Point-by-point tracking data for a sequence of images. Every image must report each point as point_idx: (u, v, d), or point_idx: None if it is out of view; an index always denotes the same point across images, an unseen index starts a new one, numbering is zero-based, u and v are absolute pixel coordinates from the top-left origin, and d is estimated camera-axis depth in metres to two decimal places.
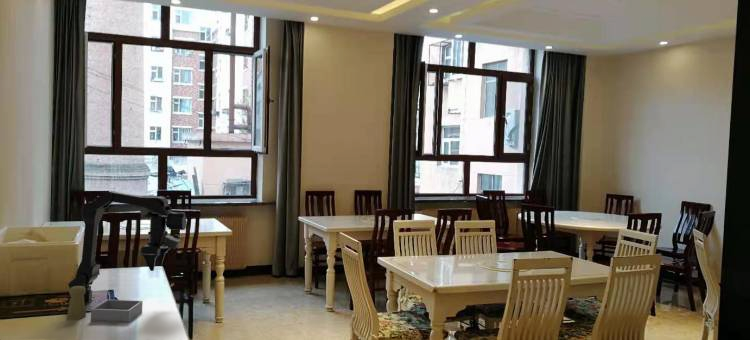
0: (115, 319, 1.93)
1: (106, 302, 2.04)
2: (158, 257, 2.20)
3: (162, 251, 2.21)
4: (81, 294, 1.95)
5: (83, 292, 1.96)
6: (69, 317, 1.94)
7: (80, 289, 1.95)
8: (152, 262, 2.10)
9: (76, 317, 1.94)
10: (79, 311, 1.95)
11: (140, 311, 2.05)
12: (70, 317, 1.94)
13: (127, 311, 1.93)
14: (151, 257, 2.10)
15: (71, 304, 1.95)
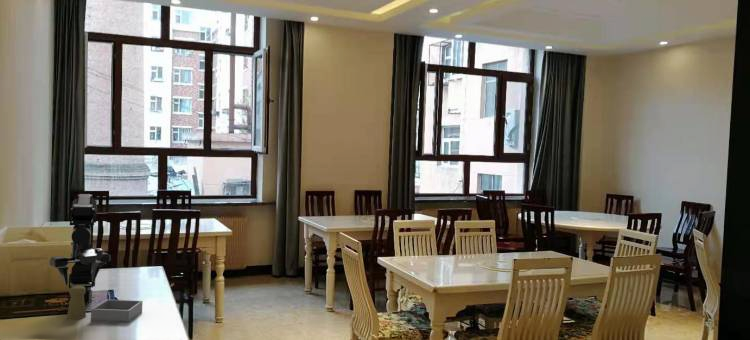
0: (115, 319, 1.93)
1: (106, 302, 2.04)
2: (92, 271, 2.01)
3: (95, 265, 2.00)
4: (81, 294, 1.95)
5: (83, 292, 1.96)
6: (69, 317, 1.94)
7: (80, 289, 1.95)
8: (63, 275, 1.92)
9: (76, 317, 1.94)
10: (79, 311, 1.95)
11: (140, 311, 2.05)
12: (70, 317, 1.94)
13: (127, 311, 1.93)
14: None
15: (71, 304, 1.95)
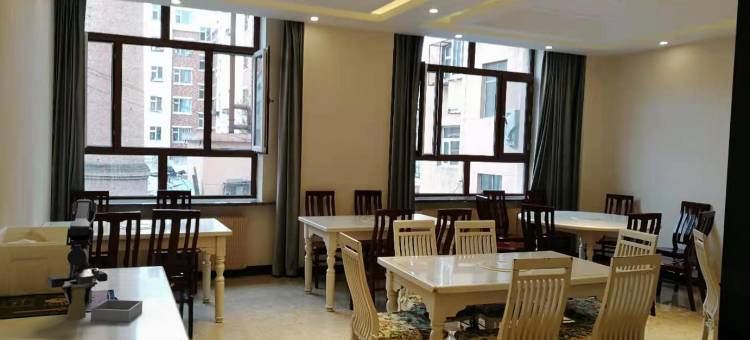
0: (115, 319, 1.93)
1: (106, 302, 2.04)
2: None
3: (86, 286, 1.98)
4: (81, 294, 1.95)
5: (83, 292, 1.96)
6: (69, 317, 1.94)
7: (80, 289, 1.95)
8: (66, 295, 1.94)
9: (76, 317, 1.94)
10: (79, 311, 1.95)
11: (140, 311, 2.05)
12: (70, 317, 1.94)
13: (127, 311, 1.93)
14: None
15: (71, 304, 1.95)
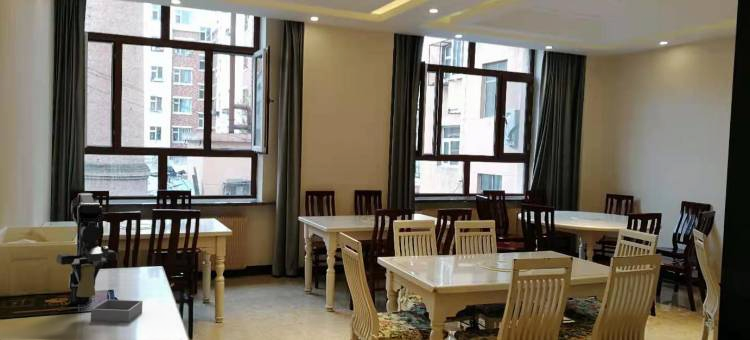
0: (115, 319, 1.93)
1: (106, 302, 2.04)
2: None
3: (96, 264, 1.99)
4: (91, 272, 1.96)
5: (93, 270, 1.96)
6: (79, 295, 1.94)
7: (90, 267, 1.95)
8: (76, 272, 1.94)
9: (85, 295, 1.95)
10: (89, 288, 1.95)
11: (140, 311, 2.05)
12: (80, 295, 1.94)
13: (127, 311, 1.93)
14: None
15: (81, 282, 1.95)
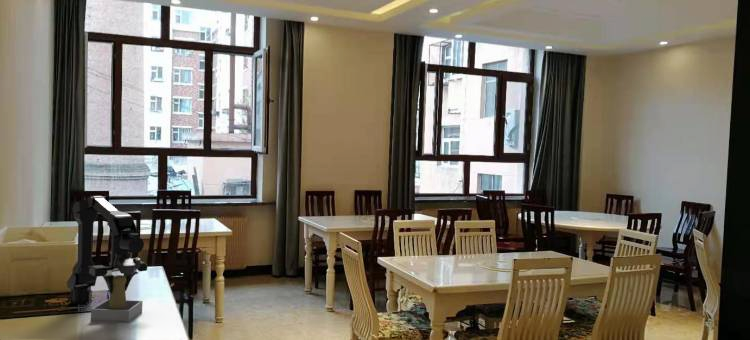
0: (115, 319, 1.93)
1: (106, 302, 2.04)
2: None
3: (127, 275, 2.01)
4: (122, 283, 1.98)
5: (124, 281, 1.99)
6: (111, 306, 1.97)
7: (121, 278, 1.98)
8: (108, 284, 1.96)
9: (118, 306, 1.97)
10: (121, 299, 1.98)
11: (140, 311, 2.05)
12: (112, 306, 1.97)
13: (127, 311, 1.93)
14: (108, 278, 1.97)
15: (113, 293, 1.97)
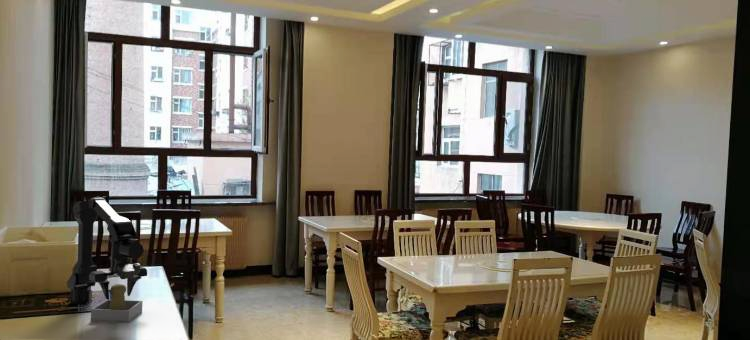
0: (115, 319, 1.93)
1: (106, 302, 2.04)
2: (128, 286, 2.03)
3: (131, 280, 2.02)
4: (122, 292, 1.98)
5: (124, 290, 1.99)
6: None
7: (121, 287, 1.98)
8: (104, 290, 1.95)
9: None
10: (120, 309, 1.98)
11: (140, 311, 2.05)
12: None
13: (127, 311, 1.93)
14: None
15: (112, 302, 1.97)
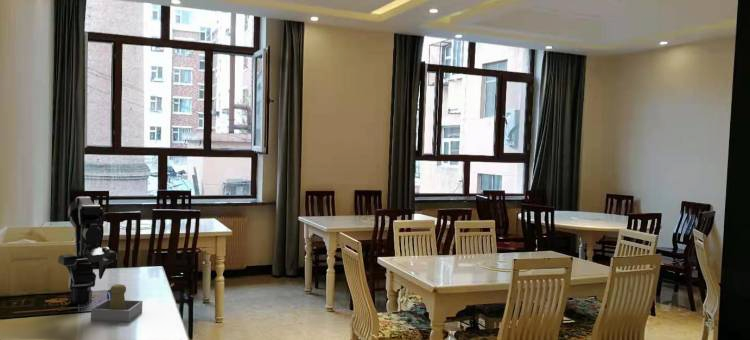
0: (115, 319, 1.93)
1: (106, 302, 2.04)
2: (99, 269, 2.06)
3: (102, 263, 2.06)
4: (122, 292, 1.98)
5: (124, 290, 1.99)
6: None
7: (121, 287, 1.98)
8: (71, 273, 1.98)
9: None
10: (120, 309, 1.98)
11: (140, 311, 2.05)
12: None
13: (127, 311, 1.93)
14: None
15: (112, 302, 1.97)
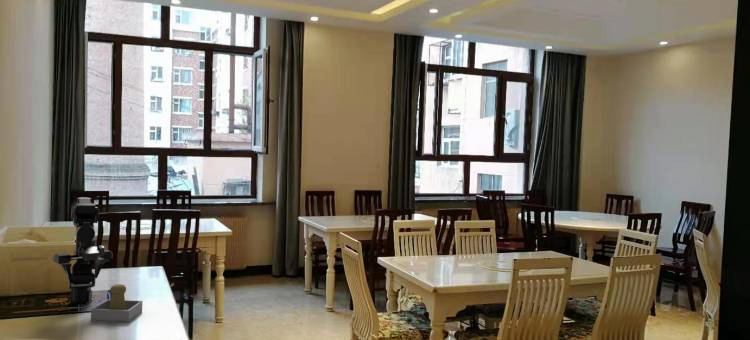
0: (115, 319, 1.93)
1: (106, 302, 2.04)
2: (95, 268, 2.06)
3: (98, 262, 2.06)
4: (122, 292, 1.98)
5: (124, 290, 1.99)
6: None
7: (121, 287, 1.98)
8: (66, 272, 1.98)
9: None
10: (120, 309, 1.98)
11: (140, 311, 2.05)
12: None
13: (127, 311, 1.93)
14: None
15: (112, 302, 1.97)
